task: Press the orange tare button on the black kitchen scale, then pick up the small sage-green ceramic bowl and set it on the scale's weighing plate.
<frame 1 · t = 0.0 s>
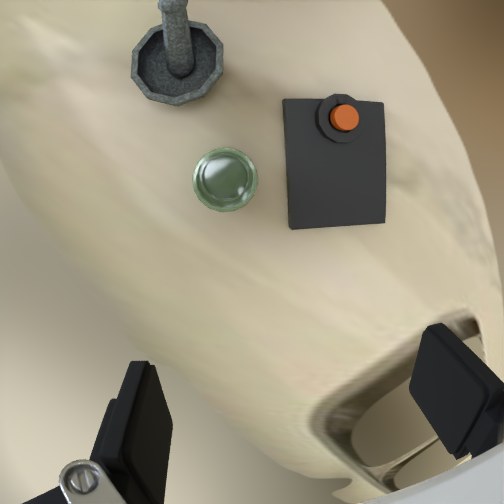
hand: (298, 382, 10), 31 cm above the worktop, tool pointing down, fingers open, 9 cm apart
mortar and pestle: (184, 69, 34), on the worktop
scale: (336, 162, 39), on the worktop
tare button: (344, 117, 33), point 4 cm above the worktop, slide at 0.1 cm
bowl: (225, 176, 38), on the worktop
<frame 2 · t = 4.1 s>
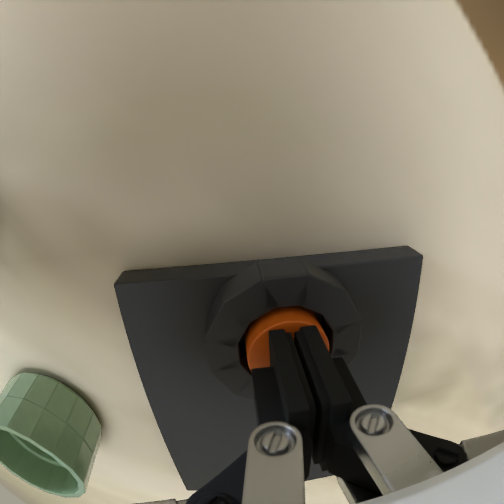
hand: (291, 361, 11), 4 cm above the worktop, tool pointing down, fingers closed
scale: (277, 396, 16), on the worktop
tare button: (285, 343, 12), point 3 cm above the worktop, slide at -0.8 cm, touching gripper
bowl: (55, 408, 16), on the worktop
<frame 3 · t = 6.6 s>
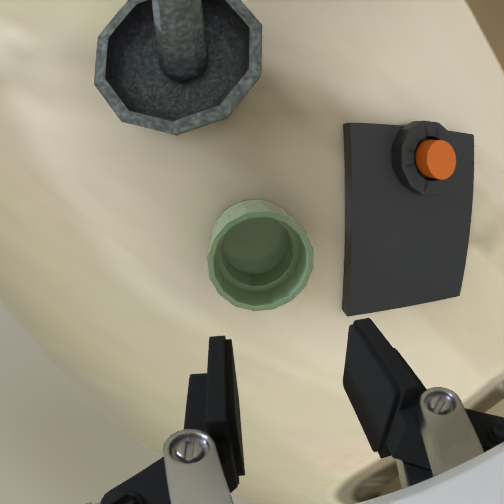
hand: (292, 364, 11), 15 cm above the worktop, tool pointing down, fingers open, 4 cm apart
mortar and pestle: (189, 67, 21), on the worktop
scale: (411, 218, 26), on the worktop
tare button: (435, 159, 21), point 3 cm above the worktop, slide at 0.1 cm
bowl: (254, 241, 25), on the worktop
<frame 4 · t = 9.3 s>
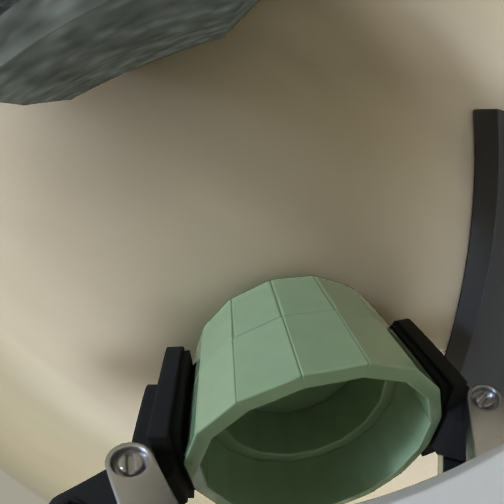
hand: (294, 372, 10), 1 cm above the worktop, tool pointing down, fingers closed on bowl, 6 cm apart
bowl: (289, 355, 11), on the worktop, touching gripper
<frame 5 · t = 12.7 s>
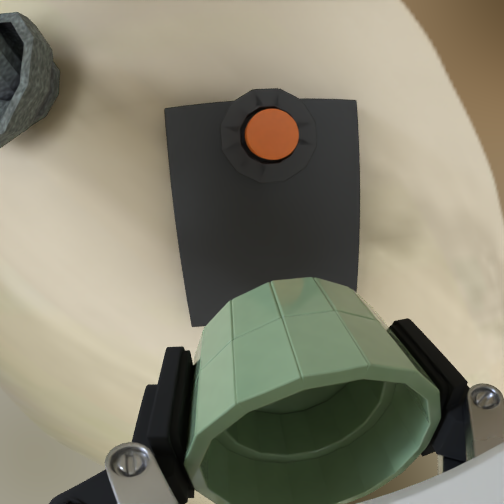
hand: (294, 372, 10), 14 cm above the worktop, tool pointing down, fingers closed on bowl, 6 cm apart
mortar and pestle: (31, 82, 18), on the worktop
scale: (268, 212, 23), on the worktop
tare button: (270, 134, 18), point 3 cm above the worktop, slide at 0.1 cm
bowl: (289, 356, 11), point 13 cm above the worktop, touching gripper
when the fingers open (2 cm above the worktop, at t = 15.9 s): bowl stays where it is, resting on scale.
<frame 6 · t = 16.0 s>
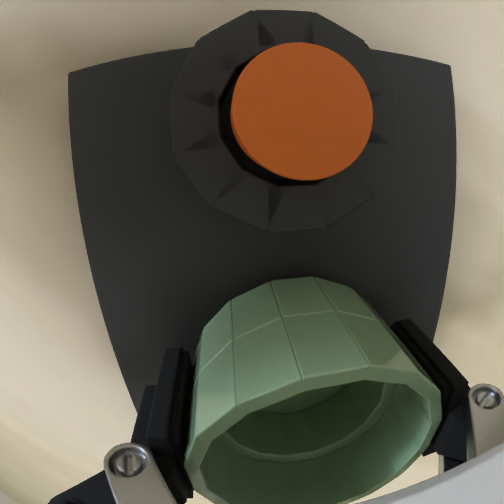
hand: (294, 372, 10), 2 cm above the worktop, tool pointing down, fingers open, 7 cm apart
scale: (281, 277, 12), on the worktop
tare button: (297, 112, 7), point 3 cm above the worktop, slide at 0.1 cm
bowl: (289, 356, 11), point 1 cm above the worktop, touching scale
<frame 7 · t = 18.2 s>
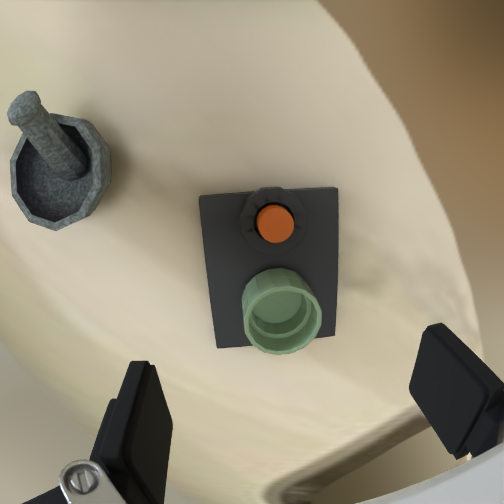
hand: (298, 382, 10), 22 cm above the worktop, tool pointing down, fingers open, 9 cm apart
mortar and pestle: (85, 160, 28), on the worktop
scale: (272, 269, 33), on the worktop
tare button: (274, 223, 28), point 3 cm above the worktop, slide at 0.1 cm
bowl: (275, 298, 32), point 1 cm above the worktop, touching scale
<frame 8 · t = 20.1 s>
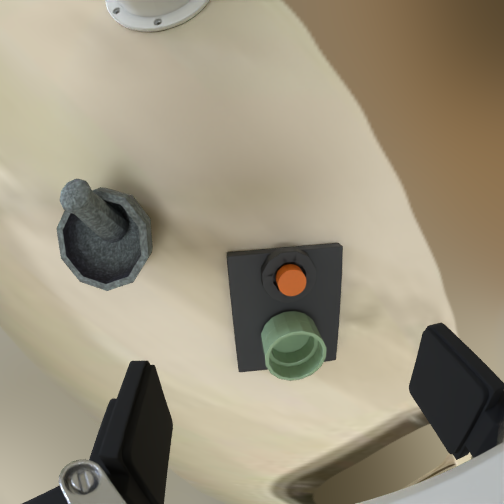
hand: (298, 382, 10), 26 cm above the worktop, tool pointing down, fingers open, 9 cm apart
mortar and pestle: (121, 218, 34), on the worktop
scale: (286, 309, 39), on the worktop
tare button: (290, 279, 34), point 3 cm above the worktop, slide at 0.1 cm
bowl: (288, 333, 38), point 1 cm above the worktop, touching scale
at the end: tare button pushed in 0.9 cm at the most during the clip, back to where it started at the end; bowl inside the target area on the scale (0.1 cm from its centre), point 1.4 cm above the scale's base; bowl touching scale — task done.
